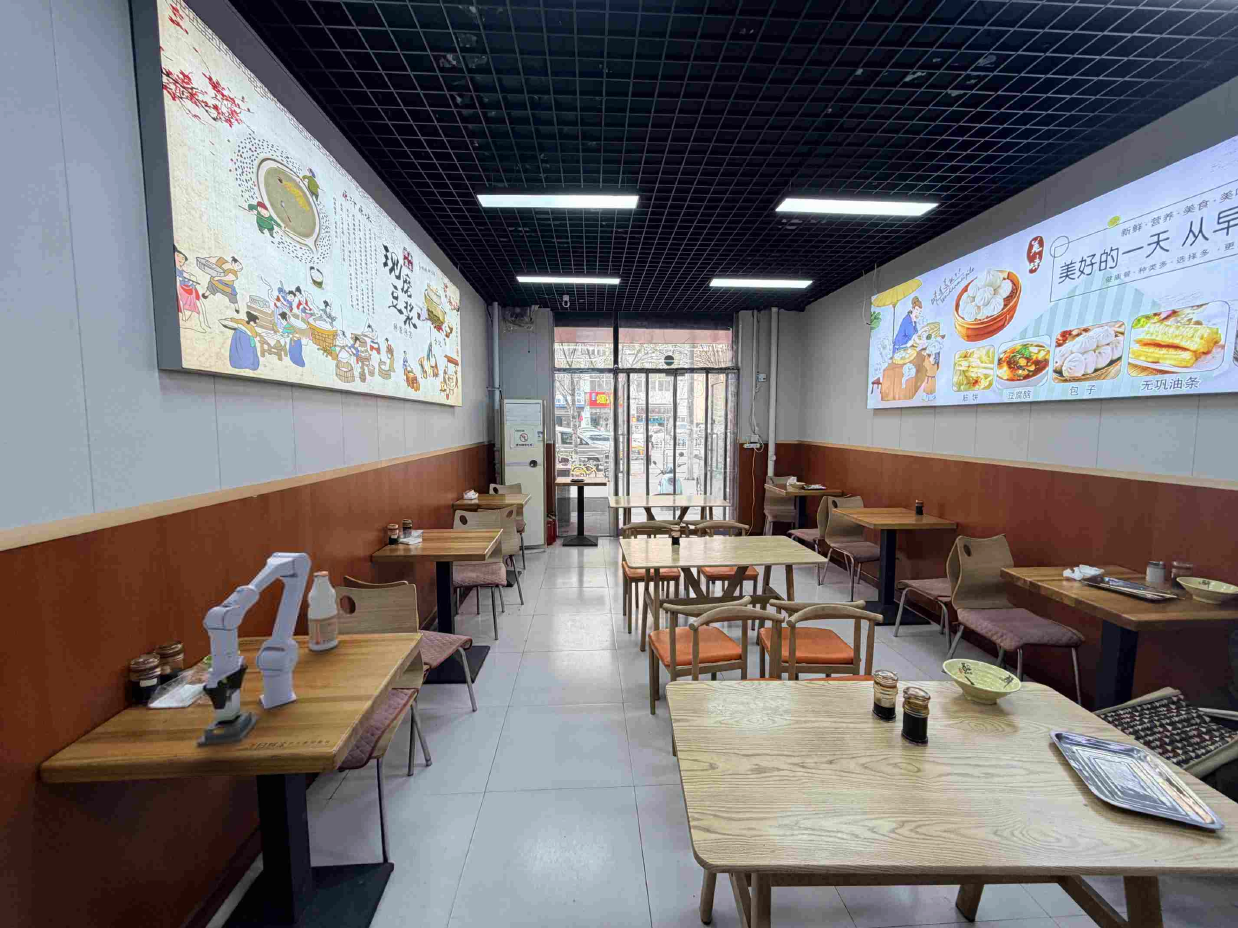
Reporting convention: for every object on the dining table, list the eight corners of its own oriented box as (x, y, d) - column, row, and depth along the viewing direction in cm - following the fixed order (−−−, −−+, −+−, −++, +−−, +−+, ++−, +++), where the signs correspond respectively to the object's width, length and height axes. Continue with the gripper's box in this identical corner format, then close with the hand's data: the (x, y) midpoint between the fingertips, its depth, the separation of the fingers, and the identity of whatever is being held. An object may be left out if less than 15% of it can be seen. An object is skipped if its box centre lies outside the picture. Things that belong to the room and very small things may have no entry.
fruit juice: (303, 651, 189) (300, 576, 188) (319, 640, 199) (316, 569, 197) (329, 651, 189) (326, 576, 187) (343, 640, 199) (340, 569, 197)
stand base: (218, 724, 142) (217, 712, 141) (258, 719, 144) (258, 707, 144) (196, 746, 132) (196, 732, 132) (241, 740, 134) (240, 727, 134)
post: (223, 712, 139) (222, 689, 139) (240, 710, 140) (239, 687, 140) (215, 721, 135) (214, 697, 135) (233, 719, 136) (231, 695, 136)
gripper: (222, 642, 143) (224, 689, 144) (191, 665, 129) (194, 717, 129) (251, 639, 144) (253, 686, 145) (223, 662, 130) (226, 714, 131)
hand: (227, 701), depth 137 cm, fingers open, 7 cm apart
